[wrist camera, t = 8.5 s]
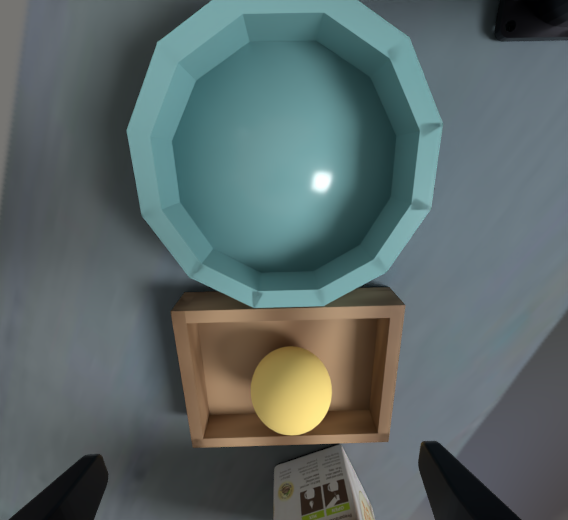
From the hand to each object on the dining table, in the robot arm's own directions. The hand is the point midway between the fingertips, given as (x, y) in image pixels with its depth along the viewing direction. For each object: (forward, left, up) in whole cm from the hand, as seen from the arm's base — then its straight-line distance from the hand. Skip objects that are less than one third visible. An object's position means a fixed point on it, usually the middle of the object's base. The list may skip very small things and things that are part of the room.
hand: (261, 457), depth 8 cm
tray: (-1, +5, -12) cm, 13 cm away
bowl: (-1, -7, -12) cm, 14 cm away
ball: (-1, +5, -9) cm, 10 cm away
